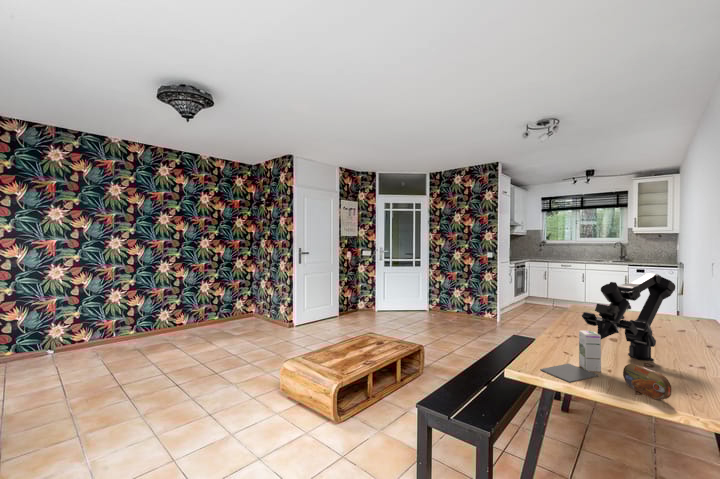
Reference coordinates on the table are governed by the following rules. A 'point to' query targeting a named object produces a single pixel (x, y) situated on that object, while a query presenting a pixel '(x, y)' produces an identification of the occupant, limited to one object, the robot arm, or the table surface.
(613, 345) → the table surface
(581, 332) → the syrup box
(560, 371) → the mat
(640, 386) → the tin
